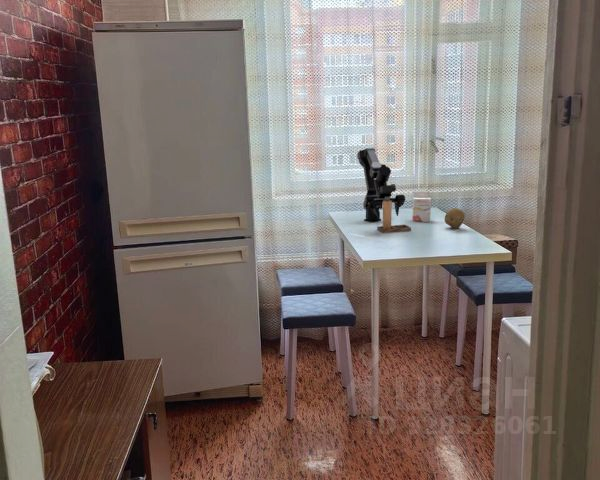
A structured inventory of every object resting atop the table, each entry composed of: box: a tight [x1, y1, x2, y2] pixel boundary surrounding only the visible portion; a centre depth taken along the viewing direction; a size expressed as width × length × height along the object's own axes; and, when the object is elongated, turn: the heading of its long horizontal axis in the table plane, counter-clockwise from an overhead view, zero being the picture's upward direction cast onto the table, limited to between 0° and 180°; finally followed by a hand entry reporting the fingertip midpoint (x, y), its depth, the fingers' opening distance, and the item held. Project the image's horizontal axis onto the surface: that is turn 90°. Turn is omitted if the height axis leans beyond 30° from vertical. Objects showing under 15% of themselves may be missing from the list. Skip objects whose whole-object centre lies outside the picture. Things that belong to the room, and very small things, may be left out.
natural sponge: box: [444, 207, 466, 230], centre depth 293 cm, size 9×9×10 cm
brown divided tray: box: [376, 224, 412, 234], centre depth 292 cm, size 14×7×2 cm, turn 103°
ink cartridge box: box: [412, 190, 432, 223], centre depth 311 cm, size 9×5×15 cm, turn 84°
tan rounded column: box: [382, 196, 393, 229], centre depth 289 cm, size 4×4×16 cm
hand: (387, 215), depth 288 cm, fingers open, 9 cm apart
